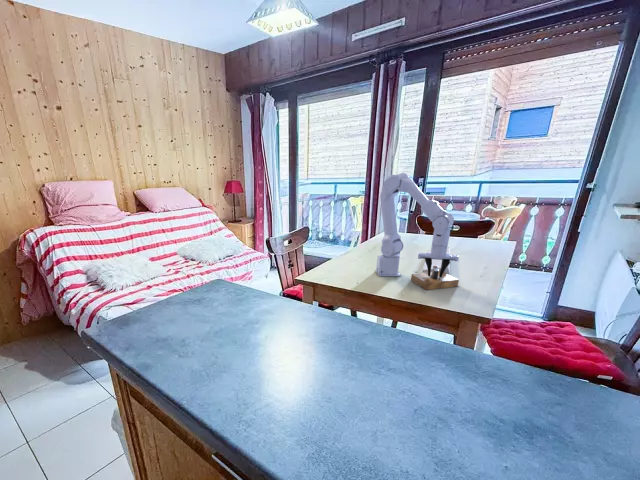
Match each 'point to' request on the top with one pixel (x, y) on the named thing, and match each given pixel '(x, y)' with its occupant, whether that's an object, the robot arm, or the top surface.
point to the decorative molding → (437, 264)
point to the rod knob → (435, 272)
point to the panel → (434, 281)
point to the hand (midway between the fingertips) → (434, 275)
